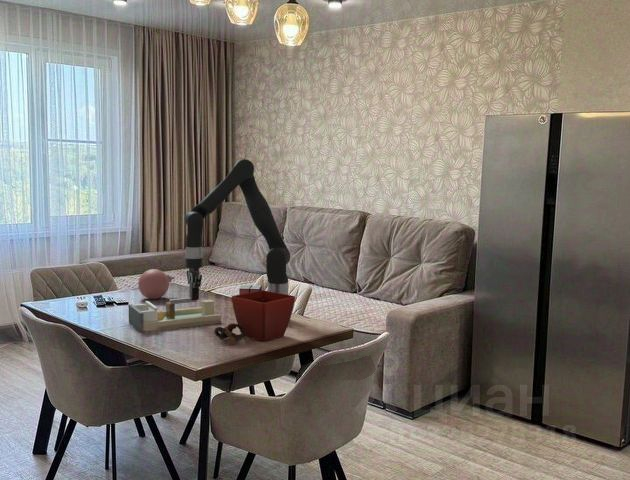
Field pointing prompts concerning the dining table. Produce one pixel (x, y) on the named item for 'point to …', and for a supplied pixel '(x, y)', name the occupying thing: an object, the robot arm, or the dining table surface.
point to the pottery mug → (230, 333)
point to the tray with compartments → (183, 318)
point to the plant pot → (263, 313)
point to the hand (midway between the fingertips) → (194, 294)
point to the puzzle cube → (249, 289)
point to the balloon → (154, 283)
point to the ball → (160, 315)
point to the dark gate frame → (171, 305)
